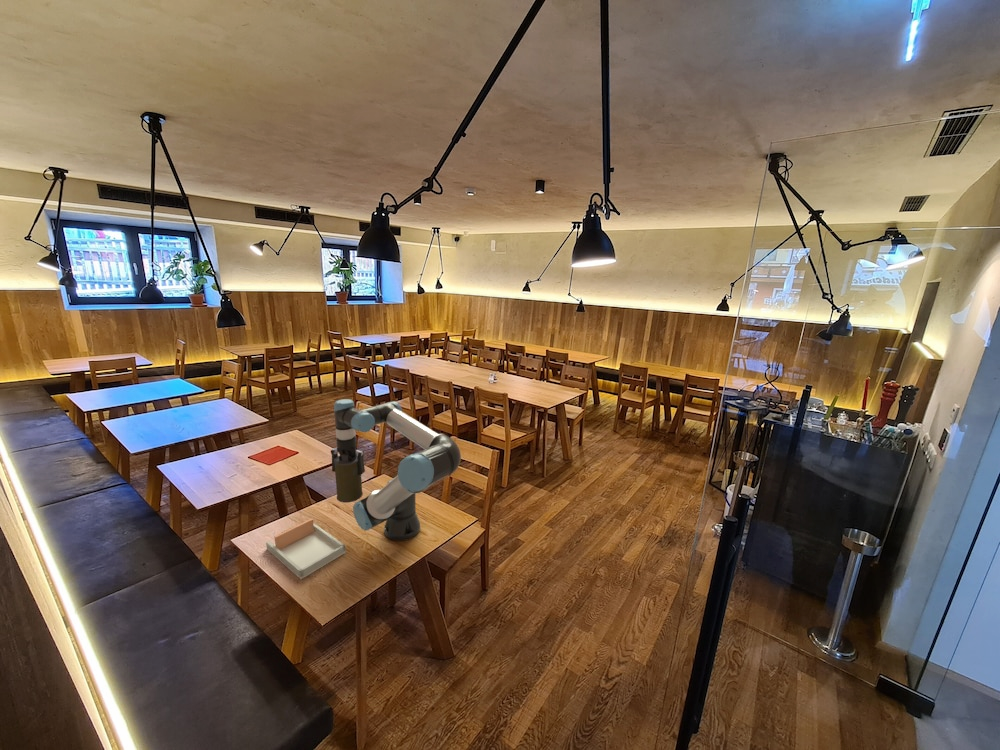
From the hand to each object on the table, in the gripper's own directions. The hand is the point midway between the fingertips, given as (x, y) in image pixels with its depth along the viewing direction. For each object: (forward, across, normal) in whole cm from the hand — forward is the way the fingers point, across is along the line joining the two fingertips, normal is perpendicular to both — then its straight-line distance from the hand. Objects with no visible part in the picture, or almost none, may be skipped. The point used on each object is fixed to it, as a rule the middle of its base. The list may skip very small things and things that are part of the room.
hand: (349, 487), depth 164 cm
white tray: (+20, +10, +17) cm, 28 cm away
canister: (+4, 0, 0) cm, 4 cm away
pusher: (+19, +20, +12) cm, 30 cm away
